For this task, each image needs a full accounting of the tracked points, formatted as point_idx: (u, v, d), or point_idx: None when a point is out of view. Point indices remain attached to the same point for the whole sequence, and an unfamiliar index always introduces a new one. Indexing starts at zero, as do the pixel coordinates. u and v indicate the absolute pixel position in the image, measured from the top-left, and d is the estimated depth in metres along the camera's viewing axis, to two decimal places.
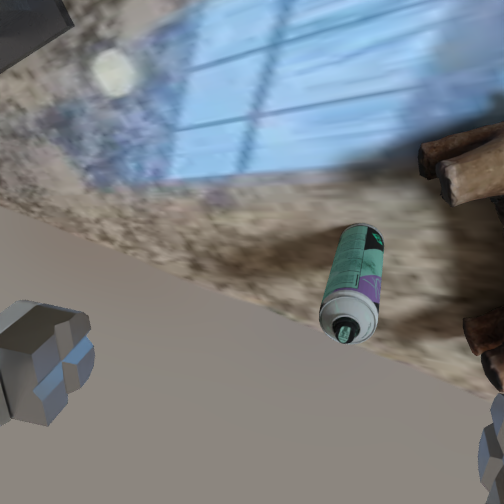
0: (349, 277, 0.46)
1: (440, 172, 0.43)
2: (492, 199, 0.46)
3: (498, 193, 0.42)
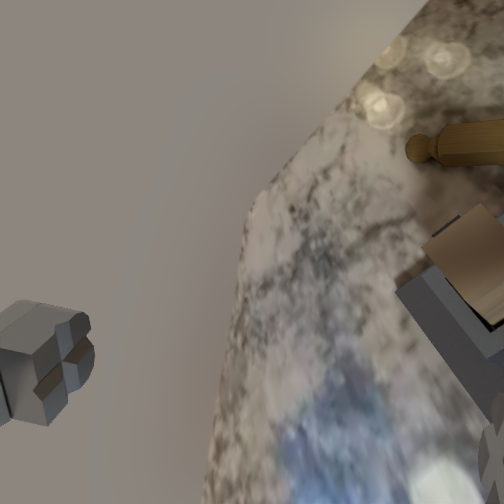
0: None
1: None
2: None
3: None
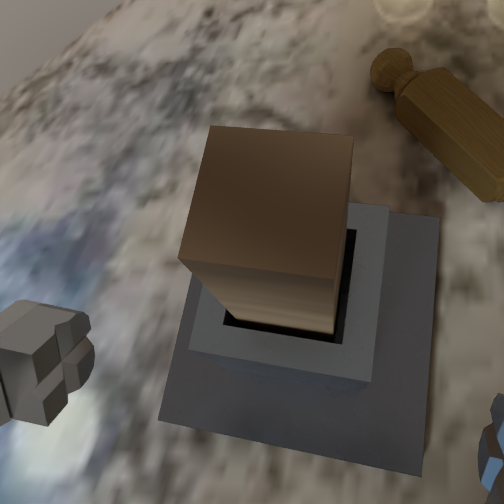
0: None
1: None
2: None
3: None
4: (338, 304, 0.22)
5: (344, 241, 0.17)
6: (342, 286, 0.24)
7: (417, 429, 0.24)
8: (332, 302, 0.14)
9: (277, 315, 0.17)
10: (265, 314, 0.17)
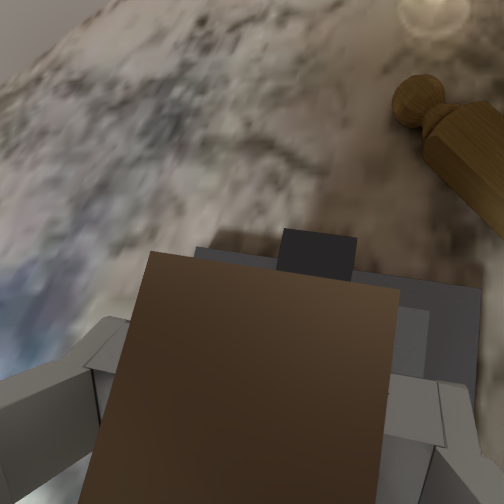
0: None
1: None
2: None
3: None
4: None
5: None
6: None
7: None
8: None
9: None
10: None
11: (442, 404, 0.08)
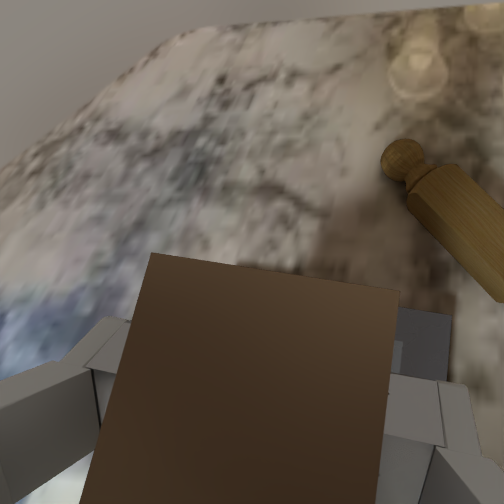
0: None
1: None
2: None
3: None
4: None
5: None
6: None
7: None
8: None
9: None
10: None
11: (442, 404, 0.08)
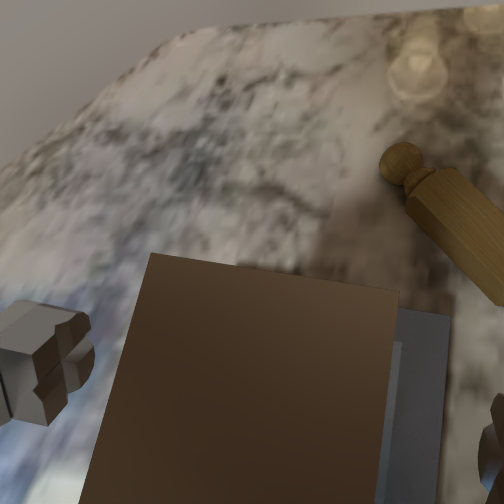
0: None
1: None
2: None
3: None
4: None
5: None
6: None
7: None
8: None
9: None
10: None
11: None
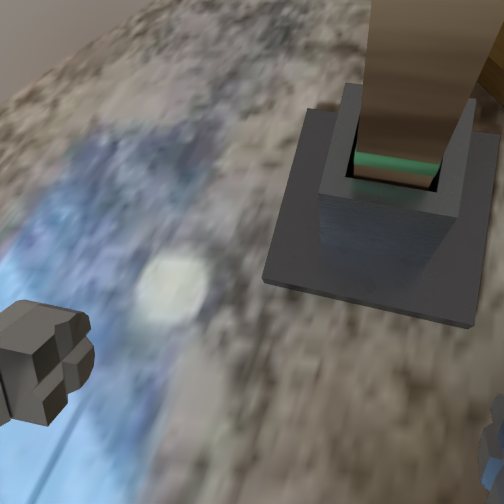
0: None
1: None
2: None
3: None
4: None
5: None
6: None
7: (472, 291, 0.30)
8: (501, 22, 0.14)
9: (416, 84, 0.18)
10: (403, 85, 0.18)
11: None
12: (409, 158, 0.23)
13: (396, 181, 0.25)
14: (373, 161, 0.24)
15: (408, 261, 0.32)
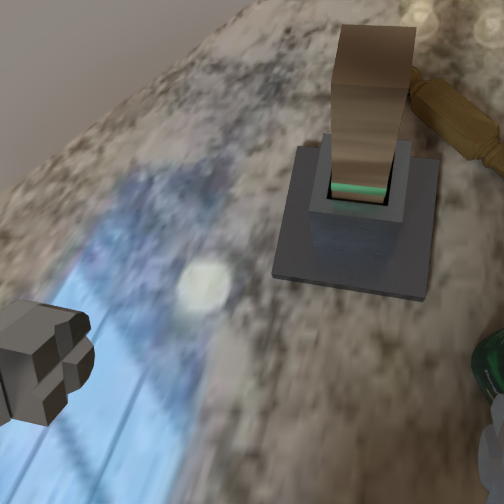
0: None
1: None
2: None
3: None
4: None
5: None
6: None
7: (423, 274, 0.42)
8: (401, 117, 0.27)
9: (362, 145, 0.30)
10: (355, 145, 0.30)
11: None
12: (367, 185, 0.35)
13: (361, 200, 0.37)
14: (344, 188, 0.36)
15: (377, 255, 0.44)
